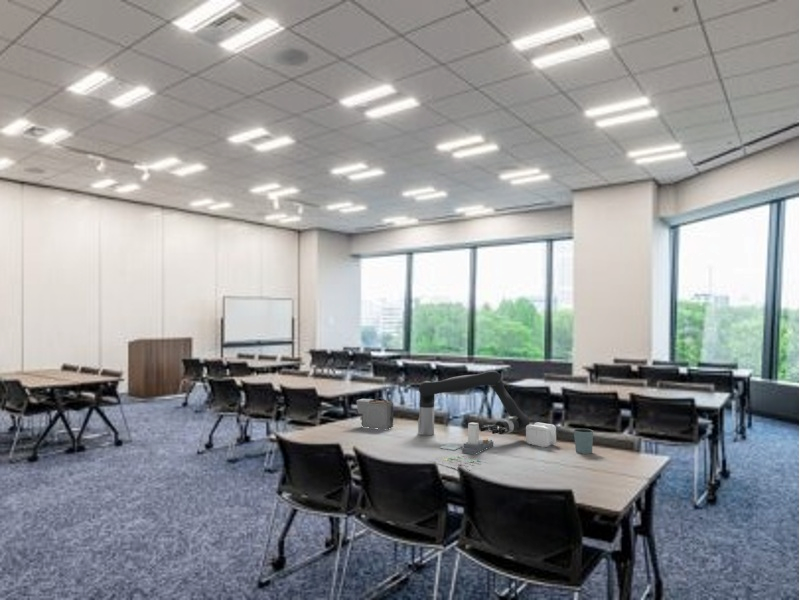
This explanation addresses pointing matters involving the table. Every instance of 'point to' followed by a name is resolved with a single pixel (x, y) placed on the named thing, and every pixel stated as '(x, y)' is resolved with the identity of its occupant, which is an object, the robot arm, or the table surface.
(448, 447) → the mat
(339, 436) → the table surface
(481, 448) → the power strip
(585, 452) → the teal cup
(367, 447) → the table surface
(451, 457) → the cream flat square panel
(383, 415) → the grey boxy piece
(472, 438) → the block
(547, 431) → the cable organizer
